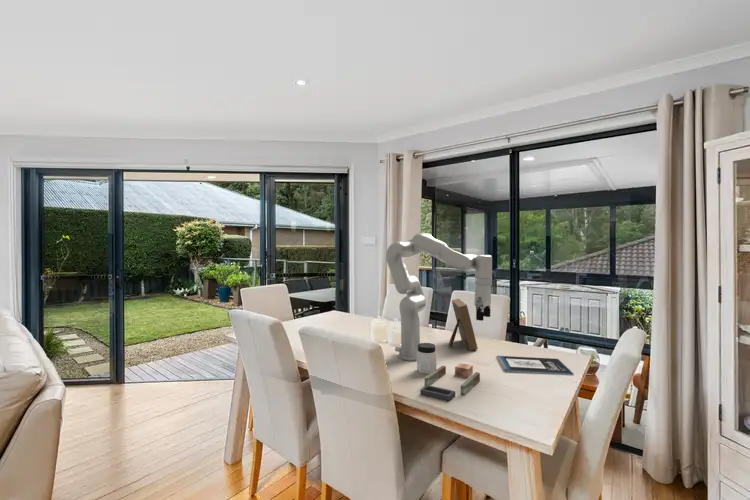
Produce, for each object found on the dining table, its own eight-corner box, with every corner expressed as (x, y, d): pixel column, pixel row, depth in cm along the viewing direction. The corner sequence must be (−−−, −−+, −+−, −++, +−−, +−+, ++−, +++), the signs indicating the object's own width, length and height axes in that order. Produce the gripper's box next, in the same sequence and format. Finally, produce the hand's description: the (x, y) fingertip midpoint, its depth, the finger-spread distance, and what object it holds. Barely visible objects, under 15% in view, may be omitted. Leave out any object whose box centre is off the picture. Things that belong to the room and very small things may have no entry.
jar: (415, 372, 176) (415, 346, 175) (418, 367, 183) (418, 342, 183) (434, 374, 173) (434, 348, 173) (437, 369, 181) (437, 343, 180)
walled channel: (424, 386, 160) (424, 377, 160) (442, 373, 175) (442, 365, 175) (464, 395, 150) (464, 386, 150) (479, 380, 165) (479, 372, 165)
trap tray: (420, 394, 151) (420, 389, 151) (427, 389, 156) (427, 384, 156) (449, 401, 144) (449, 396, 144) (455, 396, 149) (455, 391, 149)
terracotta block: (455, 375, 173) (455, 366, 172) (459, 371, 178) (459, 363, 177) (468, 378, 169) (468, 369, 169) (472, 374, 174) (472, 365, 174)
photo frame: (468, 340, 231) (468, 298, 231) (477, 350, 210) (477, 304, 209) (443, 340, 232) (443, 298, 231) (450, 351, 210) (449, 305, 209)
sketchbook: (573, 376, 172) (573, 372, 172) (503, 373, 176) (503, 368, 176) (558, 361, 193) (558, 356, 193) (495, 358, 198) (495, 354, 198)
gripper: (481, 279, 188) (481, 314, 189) (468, 283, 174) (468, 320, 175) (497, 280, 184) (497, 316, 185) (485, 284, 170) (485, 322, 170)
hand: (483, 318), depth 180 cm, fingers open, 9 cm apart
